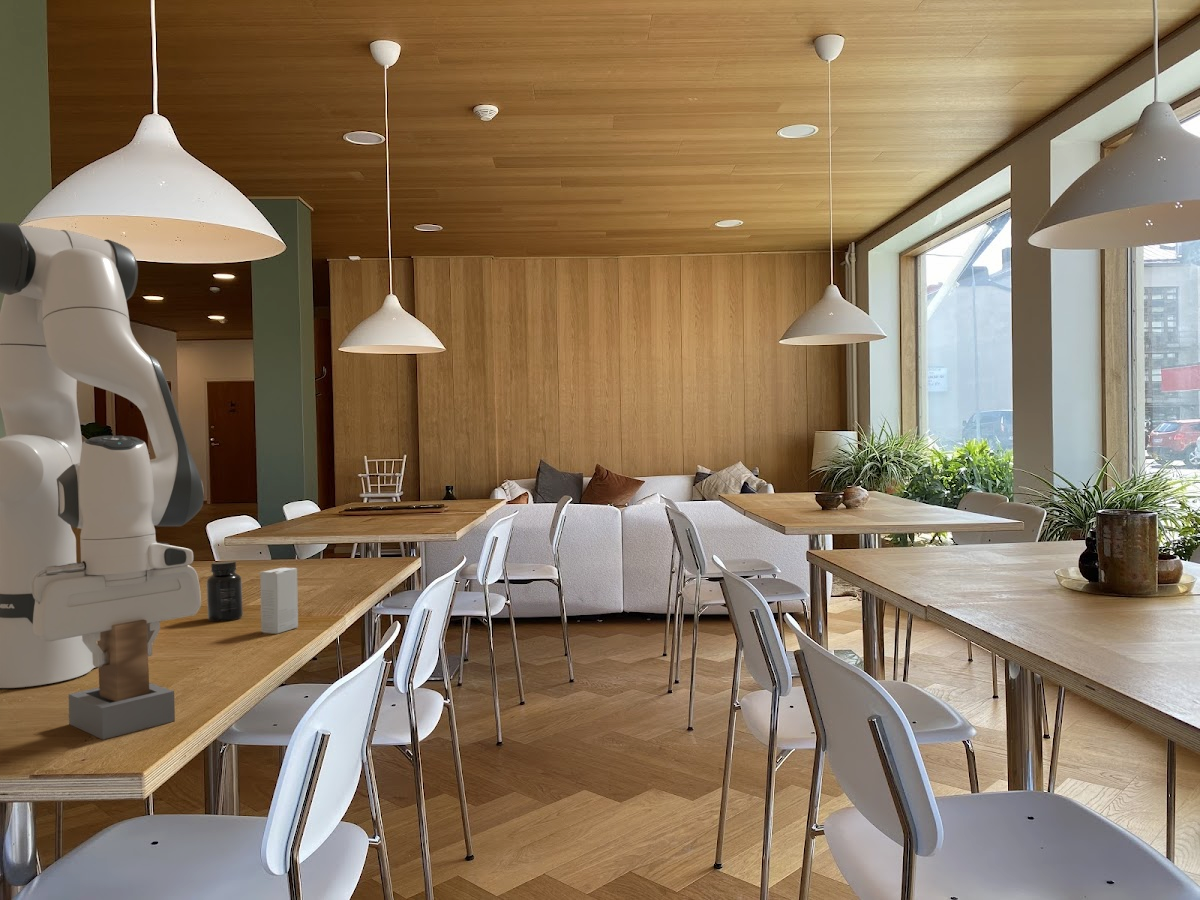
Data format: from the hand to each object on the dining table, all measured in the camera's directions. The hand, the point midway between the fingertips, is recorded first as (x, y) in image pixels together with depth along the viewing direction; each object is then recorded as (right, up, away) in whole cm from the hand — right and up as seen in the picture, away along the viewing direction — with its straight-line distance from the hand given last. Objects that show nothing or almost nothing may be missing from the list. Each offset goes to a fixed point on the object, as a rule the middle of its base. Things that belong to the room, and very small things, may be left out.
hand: (123, 661), depth 117 cm
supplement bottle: (-16, -8, +70) cm, 72 cm away
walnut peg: (0, -5, 0) cm, 5 cm away
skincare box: (0, -8, +57) cm, 57 cm away
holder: (0, -8, 0) cm, 8 cm away
